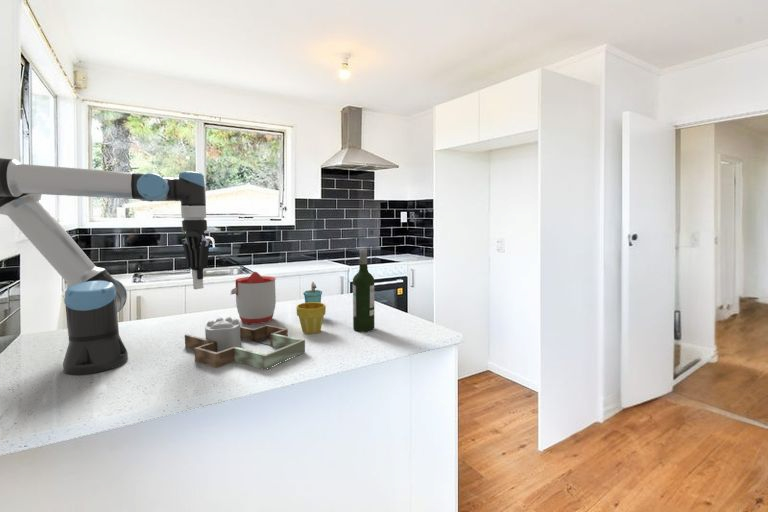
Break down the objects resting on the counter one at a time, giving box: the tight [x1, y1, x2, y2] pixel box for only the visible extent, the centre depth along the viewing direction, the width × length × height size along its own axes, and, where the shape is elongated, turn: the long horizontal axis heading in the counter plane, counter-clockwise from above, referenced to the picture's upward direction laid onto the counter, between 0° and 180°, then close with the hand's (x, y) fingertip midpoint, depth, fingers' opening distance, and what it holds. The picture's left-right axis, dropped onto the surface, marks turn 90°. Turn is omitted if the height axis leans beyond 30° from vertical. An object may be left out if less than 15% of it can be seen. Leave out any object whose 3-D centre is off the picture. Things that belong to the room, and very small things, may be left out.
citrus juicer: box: [230, 271, 277, 325], centre depth 160 cm, size 16×17×20 cm
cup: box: [303, 281, 323, 303], centre depth 165 cm, size 14×8×15 cm, turn 18°
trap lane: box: [184, 324, 306, 370], centre depth 127 cm, size 37×28×4 cm
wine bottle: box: [352, 248, 375, 333], centre depth 148 cm, size 8×8×30 cm
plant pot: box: [296, 302, 327, 335], centre depth 146 cm, size 10×10×10 cm
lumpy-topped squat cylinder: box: [204, 316, 242, 352], centre depth 132 cm, size 10×13×9 cm
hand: (198, 288), depth 137 cm, fingers closed
